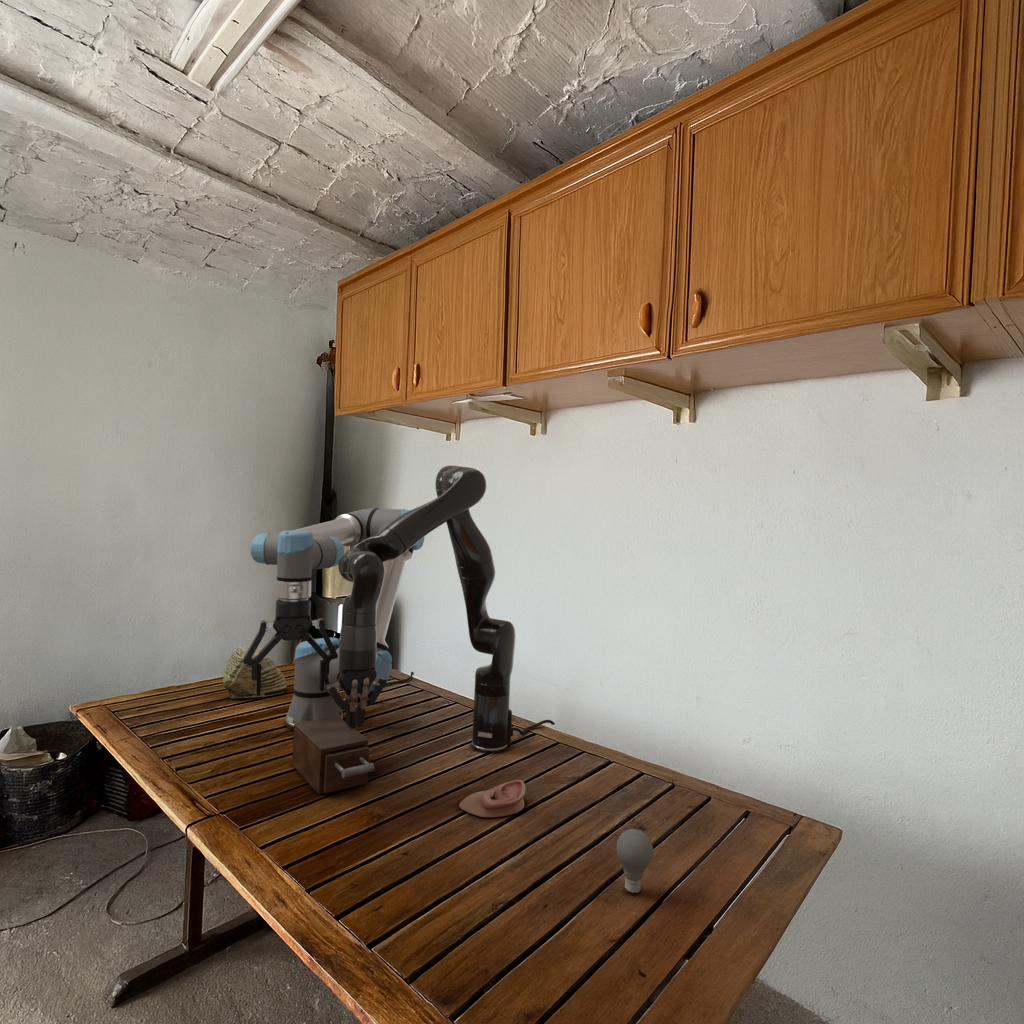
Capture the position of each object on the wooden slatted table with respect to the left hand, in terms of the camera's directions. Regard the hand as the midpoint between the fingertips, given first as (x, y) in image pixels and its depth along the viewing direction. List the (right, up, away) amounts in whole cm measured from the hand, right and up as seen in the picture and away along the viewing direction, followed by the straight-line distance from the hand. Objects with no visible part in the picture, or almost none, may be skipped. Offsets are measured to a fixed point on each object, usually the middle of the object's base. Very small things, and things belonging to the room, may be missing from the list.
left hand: (290, 691), depth 144 cm
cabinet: (+8, -19, +1) cm, 21 cm away
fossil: (-30, -16, +54) cm, 64 cm away
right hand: (+17, -4, -11) cm, 21 cm away
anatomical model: (+46, -21, -11) cm, 52 cm away
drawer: (+12, -18, -4) cm, 22 cm away
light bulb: (+71, -23, -38) cm, 83 cm away
